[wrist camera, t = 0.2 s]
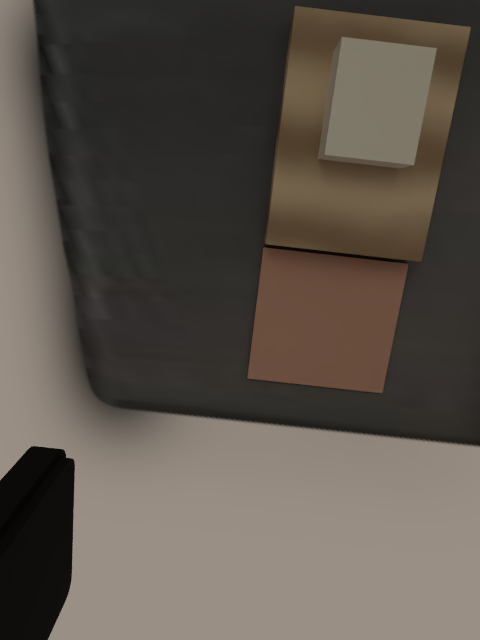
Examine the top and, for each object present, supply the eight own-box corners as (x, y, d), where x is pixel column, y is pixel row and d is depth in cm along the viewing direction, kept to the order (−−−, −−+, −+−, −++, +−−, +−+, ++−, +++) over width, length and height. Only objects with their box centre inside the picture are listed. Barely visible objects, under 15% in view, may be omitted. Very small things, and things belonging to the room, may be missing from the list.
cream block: (333, 52, 31) (341, 36, 28) (419, 62, 31) (437, 48, 29) (317, 159, 33) (324, 154, 30) (399, 168, 33) (414, 165, 30)
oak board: (291, 23, 34) (295, 6, 31) (451, 42, 34) (471, 27, 31) (264, 241, 38) (265, 244, 35) (408, 257, 38) (421, 262, 35)
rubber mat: (263, 247, 38) (263, 247, 37) (406, 263, 38) (408, 264, 37) (247, 376, 41) (247, 378, 40) (381, 391, 41) (382, 393, 40)
